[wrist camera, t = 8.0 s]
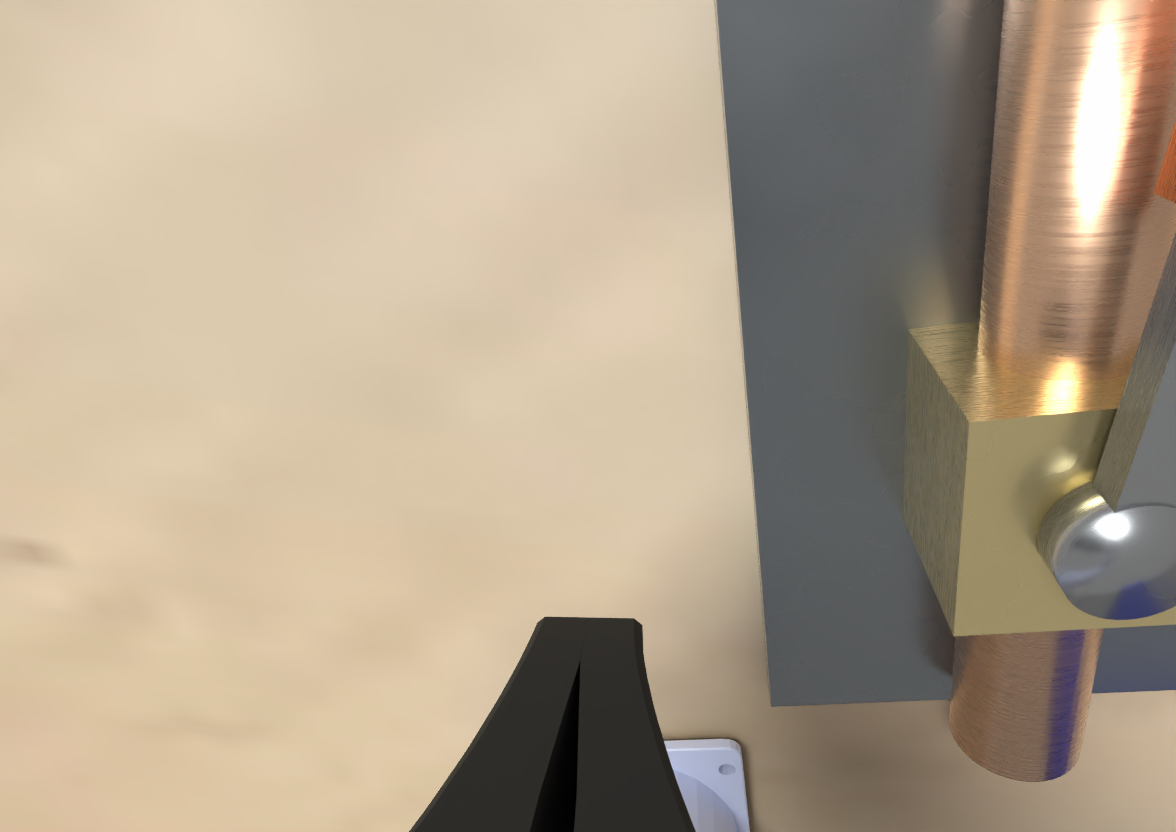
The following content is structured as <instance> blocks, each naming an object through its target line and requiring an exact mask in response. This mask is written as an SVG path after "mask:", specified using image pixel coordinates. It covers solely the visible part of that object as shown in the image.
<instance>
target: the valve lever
mask: <svg viewBox="0 0 1176 832" xmlns="http://www.w3.org/2000/svg"><path fill="white" fill-rule="evenodd" d="M1154 194H1157V195H1159V196H1161V197H1163V198H1165V199H1167V200H1169V201H1172V202H1174V203H1176V122H1175V125H1174V128H1173V131H1172V135H1171V138H1170V141H1169V144H1168V148H1167V151H1166V154H1165V157H1164V161H1163V164H1162V167H1161V170H1160V174H1159V177H1158V180H1157V183H1156V187H1155V190H1154ZM1037 543H1038V549H1039V552H1040V555H1041V557H1042V559H1043V561H1044V562H1045V564H1046V565H1047V567H1048V568H1049V570H1050V572H1051V573H1052V575H1053V576H1054V578H1055V580H1056V581H1057V583H1058V584H1059V586H1060V588H1061V589H1062V591H1063V592H1064V594H1065V595H1066V597H1067V599H1068V600H1069V601H1070V602H1071V603H1072V604H1073V605H1074V606H1075V607H1077V608H1078V609H1080V610H1081V611H1083V612H1085V613H1087V614H1089V615H1092V616H1095V617H1099V618H1104V619H1111V620H1130V619H1138V618H1144V617H1148V616H1152V615H1155V614H1158V613H1161V612H1164V611H1166V610H1168V609H1171V608H1173V607H1175V606H1176V233H1175V236H1174V239H1173V242H1172V245H1171V248H1170V251H1169V254H1168V257H1167V260H1166V263H1165V266H1164V269H1163V272H1162V275H1161V278H1160V281H1159V284H1158V287H1157V290H1156V293H1155V296H1154V299H1153V302H1152V306H1151V309H1150V312H1149V315H1148V318H1147V321H1146V324H1145V327H1144V330H1143V333H1142V336H1141V339H1140V342H1139V345H1138V348H1137V351H1136V354H1135V357H1134V360H1133V363H1132V366H1131V369H1130V372H1129V375H1128V378H1127V381H1126V384H1125V388H1124V391H1123V394H1122V397H1121V400H1120V403H1119V406H1118V409H1117V412H1116V415H1115V418H1114V421H1113V424H1112V427H1111V430H1110V433H1109V436H1108V439H1107V442H1106V445H1105V448H1104V451H1103V454H1102V457H1101V460H1100V463H1099V466H1098V469H1097V473H1096V476H1095V479H1094V481H1092V482H1089V483H1087V484H1084V485H1082V486H1080V487H1078V488H1076V489H1074V490H1073V491H1071V492H1070V493H1068V494H1067V495H1065V496H1064V497H1063V498H1061V499H1060V500H1059V501H1058V502H1057V503H1056V504H1055V505H1054V506H1053V507H1052V508H1051V509H1050V510H1049V512H1048V513H1047V514H1046V516H1045V518H1044V519H1043V521H1042V523H1041V526H1040V528H1039V532H1038V542H1037Z"/></svg>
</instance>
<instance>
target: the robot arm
mask: <svg viewBox="0 0 1176 832" xmlns="http://www.w3.org/2000/svg"><path fill="white" fill-rule="evenodd" d="M409 832H750V827H749V818H748V808H747V799H746V790H745V780H744V771H743V762H742V753H741V748H740V745H739V744H738V743H737V742H735V741H733V740H730V739H698V740H670V741H664V740H663V737H662V733H661V730H660V727H659V724H658V720H657V716H656V713H655V709H654V705H653V701H652V697H651V692H650V688H649V683H648V679H647V674H646V668H645V662H644V655H643V633H642V625H641V624H640V623H639V622H637V621H636V620H635V619H631V618H579V617H544V618H543V619H542V620H540V621H539V622H538V623H537V625H536V627H535V630H534V632H533V634H532V636H531V638H530V641H529V643H528V645H527V647H526V649H525V651H524V653H523V655H522V657H521V659H520V661H519V663H518V664H517V666H516V668H515V670H514V672H513V674H512V676H511V677H510V679H509V681H508V683H507V684H506V686H505V688H504V690H503V692H502V693H501V695H500V697H499V699H498V700H497V702H496V704H495V705H494V707H493V709H492V710H491V712H490V713H489V715H488V717H487V718H486V720H485V722H484V723H483V725H482V726H481V728H480V730H479V731H478V733H477V735H476V736H475V738H474V740H473V741H472V743H471V744H470V746H469V747H468V749H467V751H466V752H465V754H464V755H463V757H462V758H461V759H460V761H459V762H458V764H457V765H456V767H455V768H454V770H453V771H452V772H451V774H450V775H449V777H448V778H447V780H446V781H445V783H444V784H443V786H442V787H441V788H440V790H439V791H438V793H437V794H436V796H435V797H434V799H433V800H432V801H431V803H430V804H429V806H428V807H427V808H426V810H425V811H424V813H423V814H422V815H421V817H420V818H419V819H418V821H417V822H416V823H415V825H414V826H413V827H412V829H411V830H410V831H409Z"/></svg>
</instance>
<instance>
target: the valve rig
mask: <svg viewBox="0 0 1176 832" xmlns="http://www.w3.org/2000/svg"><path fill="white" fill-rule="evenodd" d="M714 2H715V15H716V27H717V40H718V53H719V65H720V78H721V91H722V103H723V116H724V129H725V142H726V154H727V167H728V180H729V192H730V205H731V218H732V230H733V243H734V256H735V268H736V281H737V294H738V306H739V319H740V332H741V345H742V357H743V370H744V383H745V395H746V408H747V421H748V433H749V446H750V459H751V471H752V484H753V497H754V510H755V522H756V535H757V548H758V560H759V573H760V586H761V598H762V611H763V624H764V636H765V649H766V662H767V675H768V686H769V694H770V701H771V707H775V706H799V705H823V704H847V703H871V702H895V701H919V700H943V699H951V700H950V713H949V724H950V729H951V732H952V735H953V737H954V739H955V741H956V742H957V744H958V745H959V746H960V748H961V749H962V750H963V751H964V752H965V753H966V754H967V755H968V756H969V757H970V758H971V759H972V760H973V761H975V762H976V763H978V764H979V765H981V766H982V767H984V768H985V769H987V770H989V771H991V772H993V773H996V774H998V775H1000V776H1003V777H1006V778H1010V779H1014V780H1019V781H1027V782H1039V781H1047V780H1052V779H1055V778H1057V777H1060V776H1062V775H1064V774H1065V773H1067V772H1068V771H1069V770H1070V769H1071V768H1072V767H1073V766H1074V765H1075V763H1076V762H1077V760H1078V757H1079V754H1080V749H1081V744H1082V738H1083V733H1084V728H1085V723H1086V718H1087V713H1088V708H1089V703H1090V698H1091V693H1112V692H1136V691H1160V690H1176V606H1175V607H1173V608H1171V609H1168V610H1166V611H1164V612H1161V613H1158V614H1155V615H1152V616H1148V617H1144V618H1138V619H1130V620H1111V619H1104V618H1099V617H1095V616H1092V615H1089V614H1087V613H1085V612H1083V611H1081V610H1080V609H1078V608H1077V607H1075V606H1074V605H1073V604H1072V603H1071V602H1070V601H1069V600H1068V599H1067V597H1066V595H1065V594H1064V592H1063V591H1062V589H1061V588H1060V586H1059V584H1058V583H1057V581H1056V580H1055V578H1054V576H1053V575H1052V573H1051V572H1050V570H1049V568H1048V567H1047V565H1046V564H1045V562H1044V561H1043V559H1042V557H1041V555H1040V552H1039V549H1038V543H1037V542H1038V532H1039V528H1040V526H1041V523H1042V521H1043V519H1044V518H1045V516H1046V514H1047V513H1048V512H1049V510H1050V509H1051V508H1052V507H1053V506H1054V505H1055V504H1056V503H1057V502H1058V501H1059V500H1060V499H1061V498H1063V497H1064V496H1065V495H1067V494H1068V493H1070V492H1071V491H1073V490H1074V489H1076V488H1078V487H1080V486H1082V485H1084V484H1087V483H1089V482H1092V481H1094V479H1095V476H1096V473H1097V469H1098V466H1099V463H1100V460H1101V457H1102V454H1103V451H1104V448H1105V445H1106V442H1107V439H1108V436H1109V433H1110V430H1111V427H1112V424H1113V421H1114V418H1115V415H1116V412H1117V409H1118V406H1119V403H1120V400H1121V397H1122V394H1123V391H1124V388H1125V384H1126V381H1127V378H1128V375H1129V372H1130V369H1131V366H1132V363H1133V360H1134V357H1135V354H1136V351H1137V348H1138V345H1139V342H1140V339H1141V336H1142V333H1143V330H1144V327H1145V324H1146V321H1147V318H1148V315H1149V312H1150V309H1151V306H1152V302H1153V299H1154V296H1155V293H1156V290H1157V287H1158V284H1159V281H1160V278H1161V275H1162V272H1163V269H1164V266H1165V263H1166V260H1167V257H1168V254H1169V251H1170V248H1171V245H1172V242H1173V239H1174V236H1175V233H1176V203H1174V202H1172V201H1169V200H1167V199H1165V198H1163V197H1161V196H1159V195H1157V194H1154V190H1155V187H1156V183H1157V180H1158V177H1159V174H1160V170H1161V167H1162V164H1163V161H1164V157H1165V154H1166V151H1167V148H1168V144H1169V141H1170V138H1171V135H1172V131H1173V128H1174V125H1175V122H1176V0H714Z"/></svg>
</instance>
